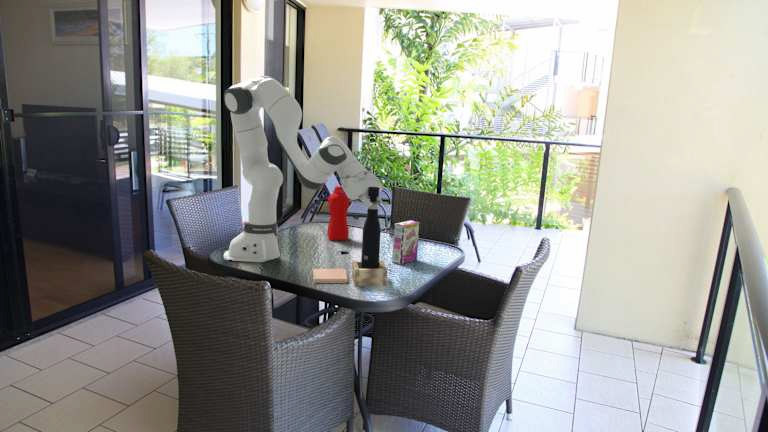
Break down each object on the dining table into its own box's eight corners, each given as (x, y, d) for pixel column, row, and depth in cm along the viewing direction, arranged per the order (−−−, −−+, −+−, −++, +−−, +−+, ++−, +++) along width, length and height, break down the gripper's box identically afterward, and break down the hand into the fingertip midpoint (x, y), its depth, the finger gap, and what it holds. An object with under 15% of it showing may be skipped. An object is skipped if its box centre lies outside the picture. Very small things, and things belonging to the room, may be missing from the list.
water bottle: (322, 237, 272) (323, 184, 267) (345, 236, 276) (346, 184, 271) (326, 241, 264) (327, 187, 259) (349, 241, 267) (351, 187, 262)
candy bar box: (401, 265, 232) (403, 225, 229) (391, 262, 235) (393, 223, 232) (417, 260, 241) (420, 221, 237) (408, 257, 244) (410, 219, 240)
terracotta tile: (313, 283, 206) (313, 279, 206) (313, 272, 218) (313, 269, 217) (347, 282, 208) (347, 278, 208) (344, 272, 219) (344, 268, 219)
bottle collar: (354, 286, 205) (355, 269, 203) (351, 276, 216) (352, 260, 214) (386, 285, 206) (387, 269, 205) (382, 275, 217) (382, 260, 216)
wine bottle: (378, 266, 214) (382, 186, 208) (379, 271, 208) (383, 189, 202) (360, 266, 213) (364, 185, 208) (361, 271, 207) (365, 188, 202)
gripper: (343, 171, 199) (366, 203, 196) (372, 166, 216) (394, 195, 214) (332, 183, 202) (355, 214, 199) (362, 177, 219) (383, 206, 217)
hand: (375, 204), depth 207 cm, fingers open, 5 cm apart
